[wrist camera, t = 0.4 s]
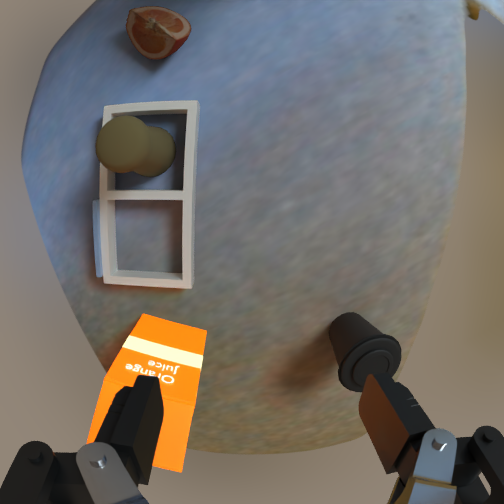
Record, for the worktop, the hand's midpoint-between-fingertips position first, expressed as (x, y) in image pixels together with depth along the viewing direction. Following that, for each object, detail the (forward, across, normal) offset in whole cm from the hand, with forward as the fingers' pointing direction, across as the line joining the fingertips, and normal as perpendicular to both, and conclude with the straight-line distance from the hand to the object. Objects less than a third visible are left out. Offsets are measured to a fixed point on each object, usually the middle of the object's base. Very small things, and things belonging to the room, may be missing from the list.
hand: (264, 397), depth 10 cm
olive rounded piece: (+27, +11, -10) cm, 31 cm away
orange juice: (+26, +10, +15) cm, 32 cm away
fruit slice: (+27, +11, -25) cm, 39 cm away
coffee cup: (+26, -14, +12) cm, 32 cm away
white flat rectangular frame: (+26, +11, -5) cm, 29 cm away
